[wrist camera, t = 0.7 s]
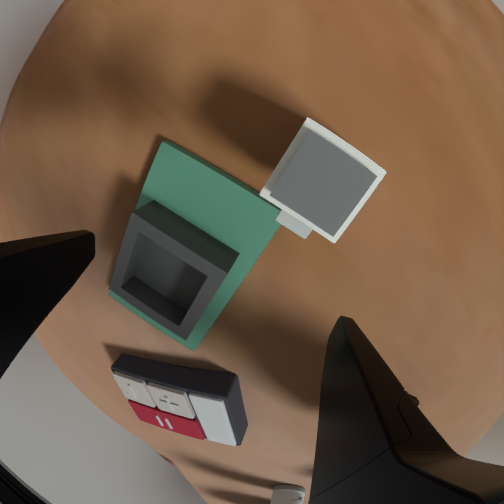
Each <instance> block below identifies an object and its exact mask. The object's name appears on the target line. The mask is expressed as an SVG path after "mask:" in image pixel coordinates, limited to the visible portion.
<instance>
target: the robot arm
mask: <svg viewBox="0 0 504 504" xmlns="http://www.w3.org/2000/svg"><path fill="white" fill-rule="evenodd" d="M94 256H95V236H94V234H93V233H92V232H90V231H87V230H80V231H73V232H65V233H59V234H52V235H45V236H39V237H32V238H26V239H20V240H14V241H8V242H2V243H0V379H1V377H2V376H3V374H4V373H5V371H6V370H7V368H8V367H9V366H10V363H11V362H12V361H13V360H14V358H15V357H16V355H17V354H18V353H19V351H20V350H21V349H22V347H23V346H24V345H25V343H26V342H27V341H28V339H29V338H30V337H31V335H32V334H33V333H34V332H35V330H36V329H37V328H38V327H39V325H40V324H41V323H42V322H43V320H44V319H45V318H46V317H47V316H48V314H49V313H50V312H51V311H52V310H53V308H54V307H55V306H56V305H57V304H58V302H59V301H60V300H61V299H62V298H63V297H64V296H65V294H66V293H67V292H68V291H69V290H70V289H71V287H72V286H73V285H74V284H75V282H76V281H77V280H78V278H79V277H80V276H81V274H82V273H83V272H84V270H85V269H86V268H87V266H88V265H89V264H90V263H91V261H92V260H93V259H94ZM418 405H419V400H417V399H415V398H413V397H411V396H409V394H408V393H407V391H404V387H403V386H402V385H401V383H400V382H399V380H398V379H397V378H396V376H395V375H394V374H393V372H392V371H391V369H390V368H389V367H388V365H387V364H386V363H385V361H384V360H383V359H382V357H381V356H380V355H379V353H378V352H377V350H376V349H375V348H374V346H373V345H372V344H371V342H370V341H369V340H368V338H367V337H366V336H365V335H364V333H363V332H362V331H361V329H360V328H359V327H358V325H357V324H356V323H355V321H354V320H353V319H352V318H349V317H345V316H340V317H339V318H338V320H337V322H336V324H335V326H334V328H333V330H332V332H331V333H330V336H329V339H328V344H327V350H326V356H325V362H324V368H323V373H322V380H321V393H320V408H319V420H318V431H317V442H316V451H315V460H314V468H313V476H312V483H311V491H310V497H309V503H308V504H504V466H499V465H494V464H489V463H484V462H479V461H475V460H471V459H467V458H465V457H462V456H460V455H459V454H457V453H456V452H455V451H454V450H453V449H452V448H451V447H450V446H449V445H448V444H447V442H446V441H445V440H444V439H443V438H442V436H441V435H440V434H439V433H438V432H437V430H436V429H435V428H434V427H433V425H432V424H431V423H430V422H429V421H428V419H427V418H426V417H425V416H424V414H423V413H422V412H421V411H420V409H419V408H418V407H417V406H418ZM0 504H51V503H50V502H49V501H48V500H46V499H45V498H44V497H42V496H41V495H40V494H38V493H37V492H36V491H35V490H33V489H32V488H31V487H30V486H28V485H27V484H26V483H25V482H24V481H23V480H21V479H20V478H19V477H18V476H17V475H16V474H14V473H13V472H12V471H11V470H10V469H9V468H8V467H7V466H6V465H5V464H4V463H3V462H2V461H1V460H0Z"/></svg>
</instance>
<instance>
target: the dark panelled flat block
mask: <svg viewBox="0 0 504 504" xmlns="http://www.w3.org/2000/svg"><path fill="white" fill-rule="evenodd" d="M111 370H112V371H113V374H112V375H113V377H114V379H115V380H116V382H117V384H118V386H119V387H120V389H121V391H122V392H123V394H124V396H125V397H126V398H128V399H129V400H128V402H129V404H130V405H131V407H132V408H133V410H134V411H135V413H136V414H137V416H138V418H139V419H140V420H142V421H144V422H147V423H150V424H152V425H155V426H158V427H161V428H164V429H167V430H170V431H173V432H177V433H180V434H183V435H187V436H190V437H194V438H197V439H201V440H204V438H206V439H208V440H210V441H214V442H218V443H223V444H227V445H232V446H236V445H237V446H239V445H241V443H242V440H243V437H244V435H245V432H246V429H247V426H248V423H247V418H246V414H245V409H244V404H243V400H242V395H241V390H240V385H239V380H238V376H237V375H236V374H235V373H230V372H221V371H214V370H206V369H190V368H185V367H180V366H176V365H171V364H167V363H163V362H158V361H153V360H148V359H143V358H139V357H134V356H130V355H126V354H121V355H120V357H119V358H118V359H117V360H116V361H115V363H114V364H113V365H112V366H111Z"/></svg>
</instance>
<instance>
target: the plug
mask: <svg viewBox="0 0 504 504" xmlns="http://www.w3.org/2000/svg"><path fill="white" fill-rule="evenodd" d="M386 173H387V172H386V171H385V170H384V169H382V168H381V167H380V166H378V165H377V164H376V163H375V162H373V161H372V160H371V159H369V158H368V157H366V156H365V155H364V154H362V153H361V152H360V151H358V150H357V149H355V148H354V147H353V146H351V145H350V144H348V143H347V142H345V141H344V140H342V139H341V138H340V137H338V136H337V135H335V134H334V133H332V132H331V131H329V130H327V129H326V128H324V127H323V126H321V125H320V124H318V123H317V122H315V121H313V120H312V119H310V118H308V117H307V119H306V120H305V122H304V124H303V125H302V127H301V128H300V130H299V131H298V133H297V135H296V136H295V138H294V139H293V141H292V143H291V144H290V146H289V147H288V149H287V150H286V152H285V154H284V155H283V157H282V158H281V160H280V162H279V163H278V165H277V166H276V168H275V170H274V171H273V173H272V175H271V176H270V178H269V179H268V181H267V183H266V184H265V186H264V187H263V189H262V191H261V192H260V194H259V195H260V196H262V197H263V198H265V199H266V200H268V201H270V202H271V203H273V204H274V205H276V206H278V207H279V208H280V210H279V213H278V215H277V217H276V221H277V222H279V223H280V224H282V225H284V226H285V227H287V228H288V229H290V230H291V231H293V232H294V233H296V234H298V235H299V236H301V237H302V238H304V239H306V238H307V236H308V235H309V234H310V232H311V231H312V230H315V231H316V232H318V233H319V234H321V235H322V236H324V237H325V238H327V239H328V240H330V241H331V242H333V243H334V244H335V242H336V241H337V240H338V238H339V237H340V236H341V234H342V233H343V232H344V231H345V229H346V228H347V227H348V225H349V224H350V223H351V221H352V220H353V219H354V217H355V216H356V215H357V213H358V212H359V210H360V209H361V208H362V206H363V205H364V204H365V202H366V201H367V199H368V198H369V197H370V195H371V194H372V193H373V191H374V190H375V188H376V187H377V186H378V184H379V183H380V181H381V180H382V178H383V177H384V176H385V174H386Z"/></svg>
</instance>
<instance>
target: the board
mask: <svg viewBox="0 0 504 504" xmlns="http://www.w3.org/2000/svg"><path fill="white" fill-rule="evenodd" d="M259 194H260V193H259V192H257V191H255V190H254V189H252V188H251V187H249V186H247V185H246V184H244V183H242V182H241V181H239V180H237V179H236V178H234V177H232V176H231V175H229V174H227V173H226V172H224V171H222V170H220V169H219V168H217V167H215V166H214V165H212V164H210V163H208V162H207V161H205V160H203V159H201V158H200V157H198V156H196V155H194V154H193V153H191V152H189V151H187V150H186V149H184V148H182V147H180V146H178V145H177V144H175V143H173V142H171V141H169V140H167V141H162V143H161V145H160V147H159V150H158V152H157V154H156V157H155V159H154V161H153V164H152V166H151V169H150V171H149V174H148V176H147V179H146V181H145V184H144V186H143V189H142V191H141V194H140V197H139V199H138V202H137V205H136V208H135V211H133V212H132V213H131V216H130V219H129V222H128V225H127V228H126V231H125V234H124V237H123V240H122V244H121V247H120V250H119V254H118V257H117V261H116V264H115V268H114V271H113V275H112V279H111V283H110V287H109V289H110V293H109V295H110V296H111V297H112V298H114V299H115V300H116V301H118V302H119V303H121V304H122V305H123V306H125V307H126V308H128V309H129V310H130V311H132V312H133V313H135V314H136V315H138V316H139V317H141V318H142V319H143V320H145V321H146V322H148V323H149V324H151V325H152V326H154V327H155V328H157V329H159V330H160V331H162V332H163V333H165V334H166V335H168V336H169V337H171V338H173V339H174V340H176V341H177V342H179V343H181V344H182V345H184V346H186V347H187V348H189V349H191V350H192V351H195V349H196V348H197V347H198V345H199V344H200V342H201V341H202V339H203V338H204V336H205V335H206V333H207V332H208V331H209V329H210V328H211V326H212V325H213V323H214V322H215V320H216V319H217V317H218V316H219V314H220V313H221V312H222V310H223V309H224V307H225V306H226V304H227V303H228V301H229V300H230V298H231V297H232V295H233V294H234V293H235V291H236V290H237V288H238V287H239V285H240V284H241V282H242V281H243V279H244V278H245V276H246V275H247V273H248V272H249V270H250V269H251V268H252V266H253V265H254V263H255V262H256V260H257V259H258V257H259V256H260V254H261V253H262V251H263V250H264V248H265V247H266V245H267V244H268V242H269V241H270V239H271V238H272V236H273V235H274V234H275V232H276V231H277V229H278V228H279V226H280V225H281V224H280V223H279V222H277V221H276V217H277V215H278V213H279V210H280V208H279V207H278V206H276V205H274V204H273V203H271V202H270V201H268V200H266V199H265V198H263V197H262V196H260V195H259Z"/></svg>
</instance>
